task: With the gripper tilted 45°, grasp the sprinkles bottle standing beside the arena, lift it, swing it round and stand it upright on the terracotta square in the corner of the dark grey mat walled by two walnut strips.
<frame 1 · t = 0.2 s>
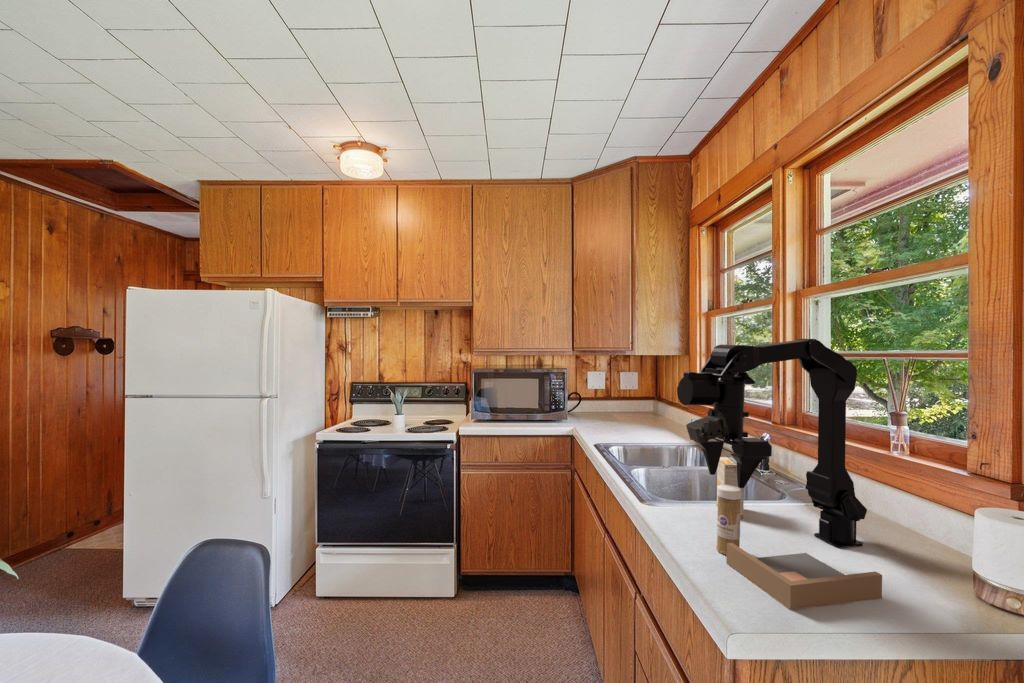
hand: (726, 480, 99), 15 cm above the counter, tool pointing down, fingers open, 9 cm apart
supplement box: (729, 512, 122), on the counter
arena: (799, 577, 89), on the counter
sprinkles bottle: (728, 552, 99), on the counter
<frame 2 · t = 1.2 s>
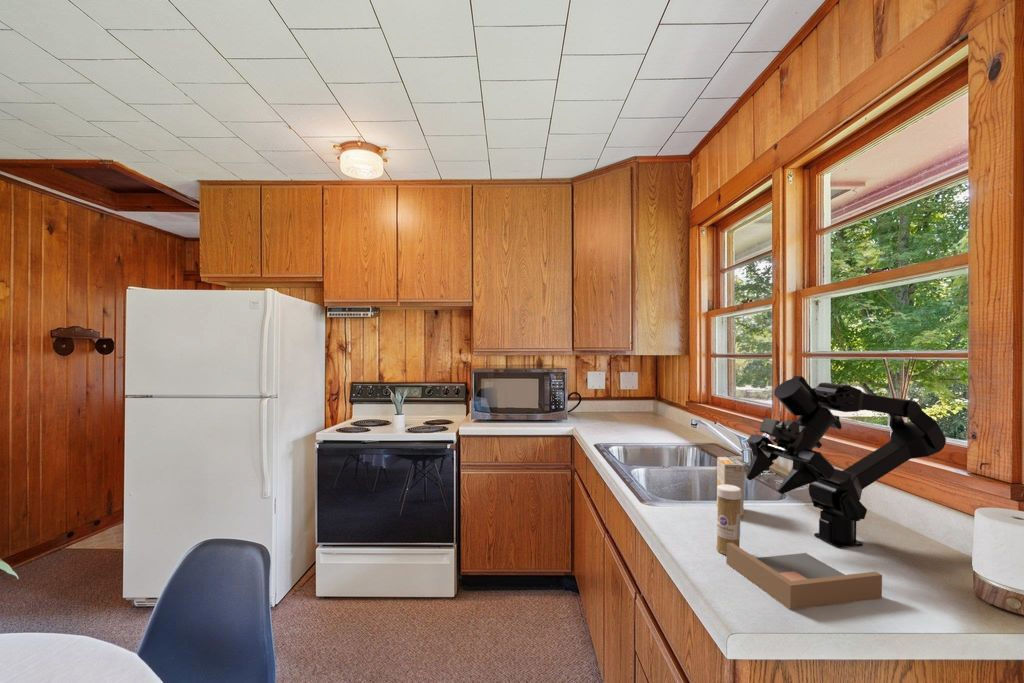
hand: (763, 485, 101), 13 cm above the counter, tool tilted 45°, fingers open, 9 cm apart
nothing on the counter moved.
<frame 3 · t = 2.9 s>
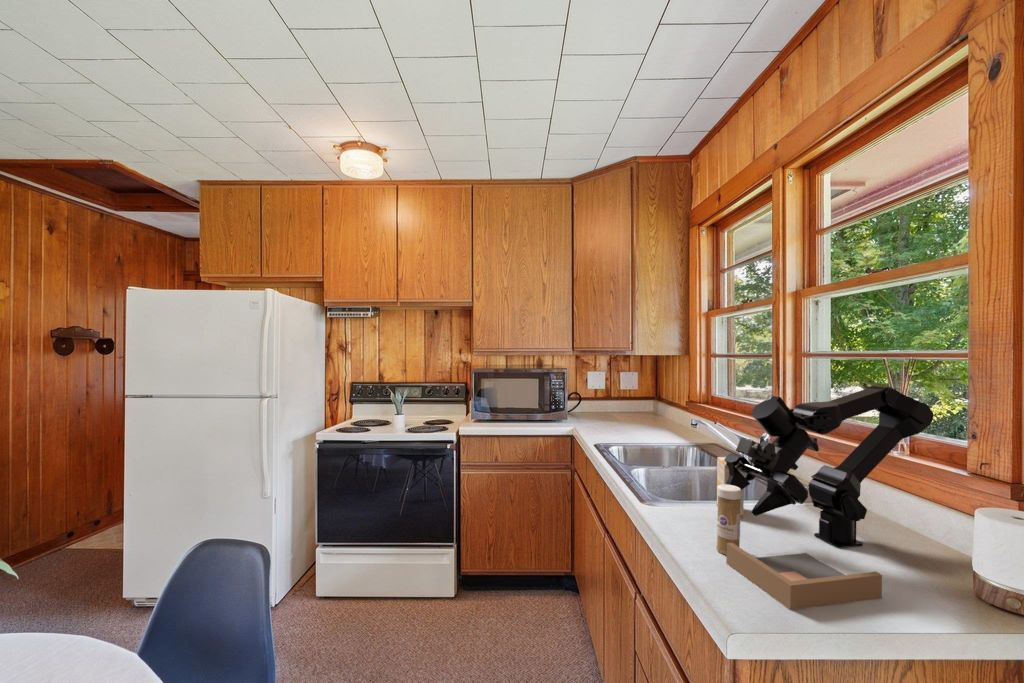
hand: (737, 506, 99), 9 cm above the counter, tool tilted 45°, fingers open, 9 cm apart
nothing on the counter moved.
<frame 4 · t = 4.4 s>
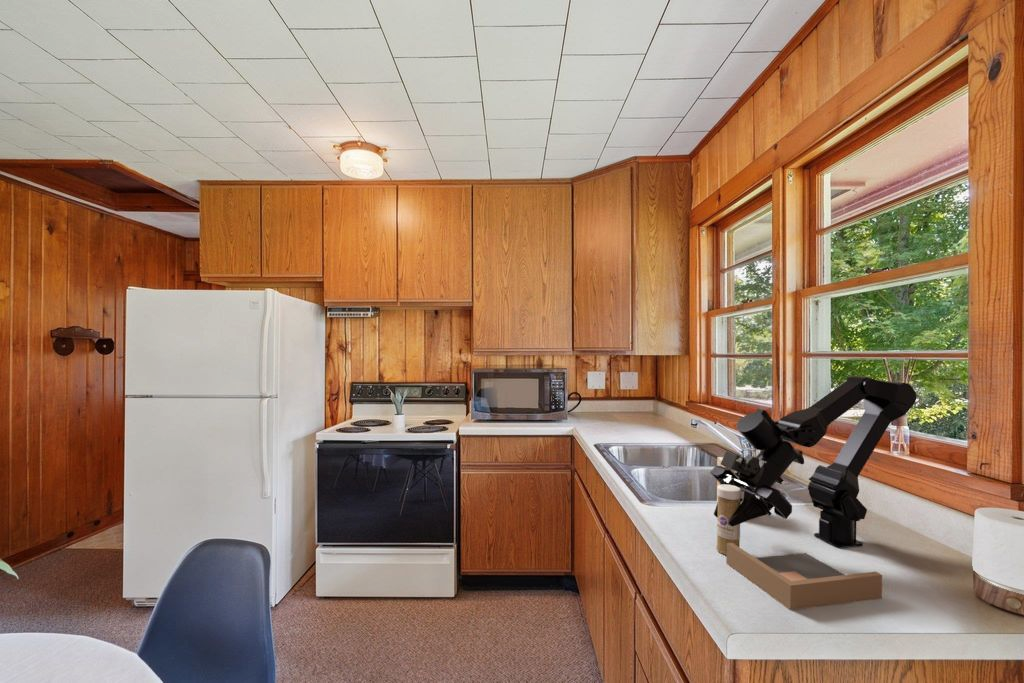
hand: (722, 520, 99), 7 cm above the counter, tool tilted 45°, fingers closed on sprinkles bottle, 4 cm apart
sprinkles bottle: (728, 552, 99), on the counter, touching gripper
everything else where it was.
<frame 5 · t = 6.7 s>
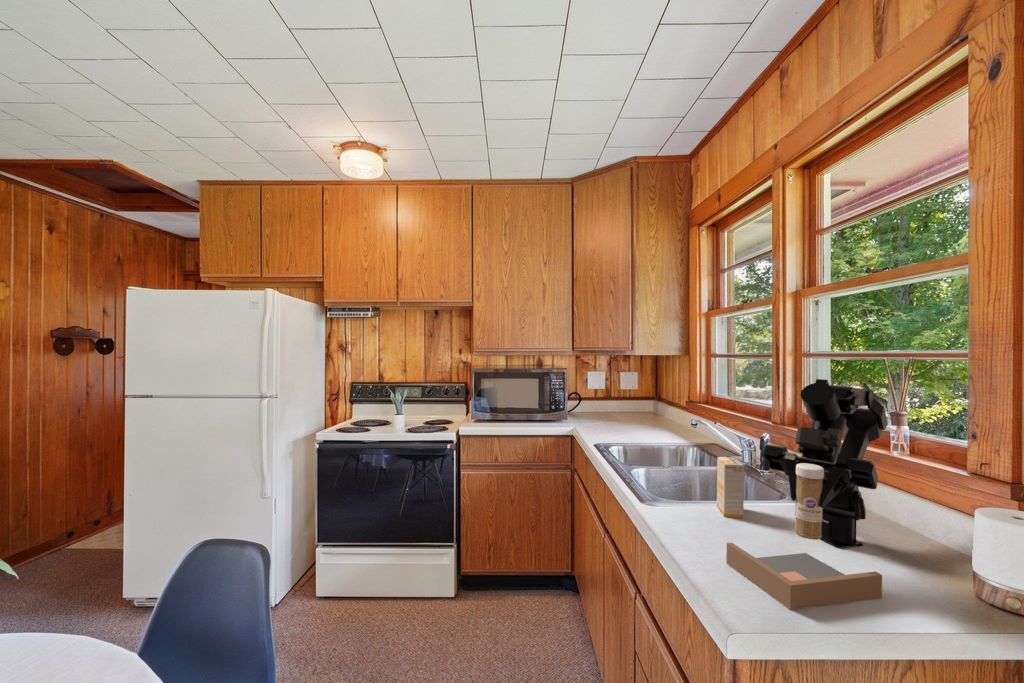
hand: (806, 502, 90), 13 cm above the counter, tool tilted 45°, fingers closed on sprinkles bottle, 4 cm apart
sprinkles bottle: (808, 536, 91), point 6 cm above the counter, touching gripper
everything else where it was.
when the fingers open (8 cm above the counter, at t = 9.1 s): sprinkles bottle stays where it is, resting on arena.
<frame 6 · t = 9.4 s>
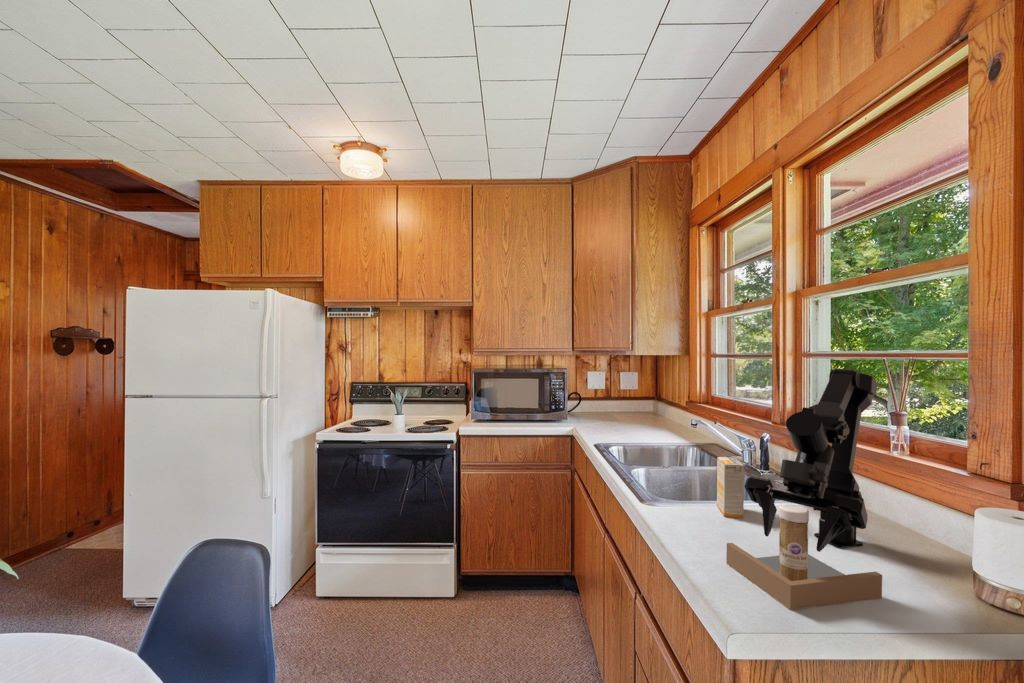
hand: (791, 542, 84), 9 cm above the counter, tool tilted 45°, fingers open, 8 cm apart
sprinkles bottle: (793, 584, 85), point 1 cm above the counter, touching arena
everything else where it was.
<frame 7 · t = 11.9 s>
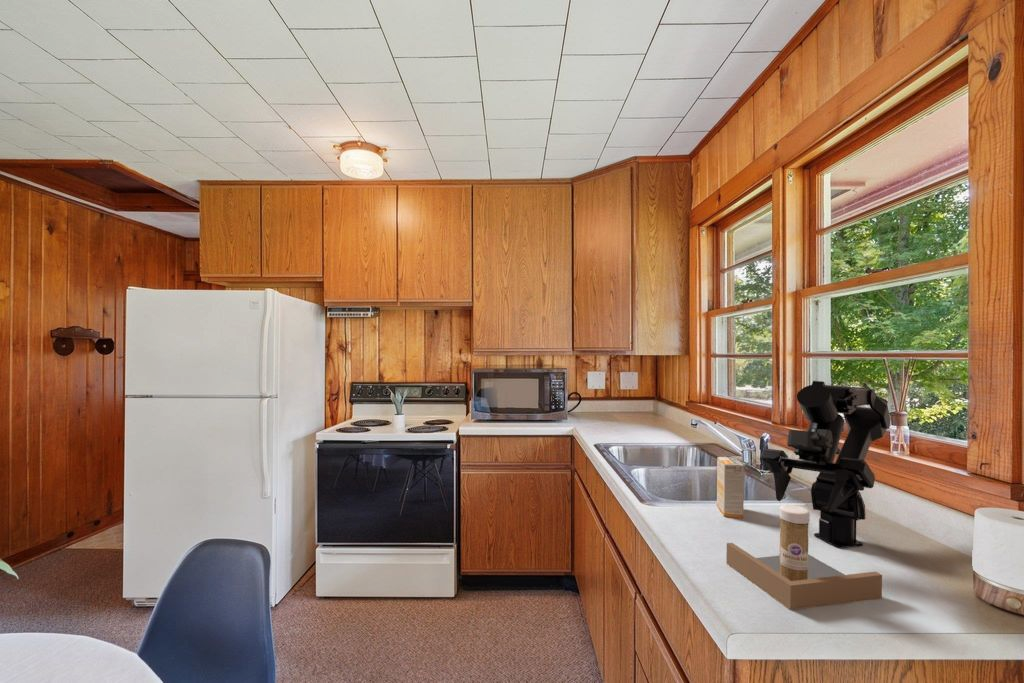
hand: (802, 504, 91), 13 cm above the counter, tool tilted 40°, fingers open, 9 cm apart
nothing on the counter moved.
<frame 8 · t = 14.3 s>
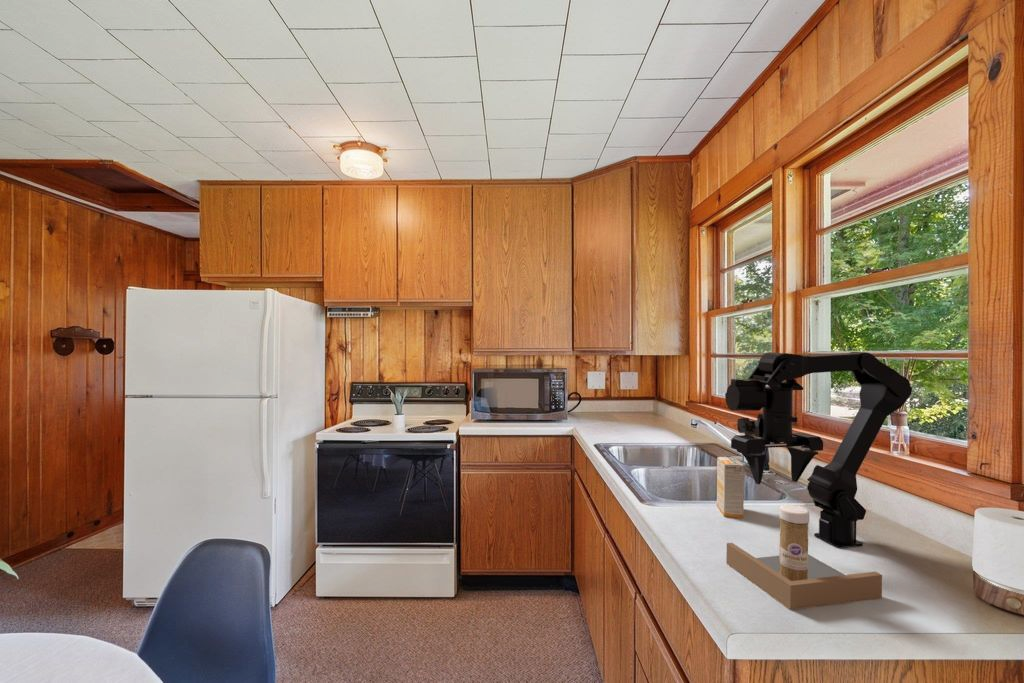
hand: (776, 482, 104), 13 cm above the counter, tool pointing down, fingers open, 9 cm apart
nothing on the counter moved.
at the end: sprinkles bottle 0.5 cm from the target spot, point 0.5 cm above the counter; sprinkles bottle tilted 0°; the gripper is holding nothing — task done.
